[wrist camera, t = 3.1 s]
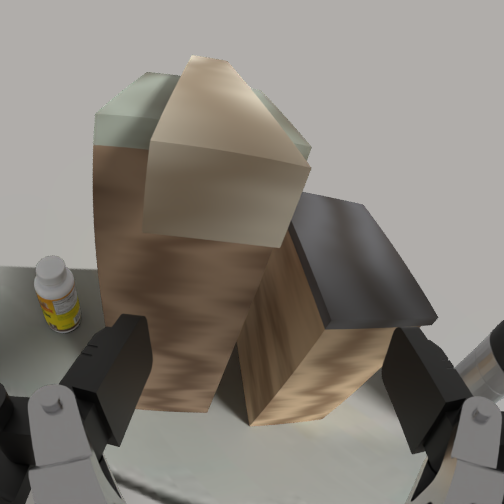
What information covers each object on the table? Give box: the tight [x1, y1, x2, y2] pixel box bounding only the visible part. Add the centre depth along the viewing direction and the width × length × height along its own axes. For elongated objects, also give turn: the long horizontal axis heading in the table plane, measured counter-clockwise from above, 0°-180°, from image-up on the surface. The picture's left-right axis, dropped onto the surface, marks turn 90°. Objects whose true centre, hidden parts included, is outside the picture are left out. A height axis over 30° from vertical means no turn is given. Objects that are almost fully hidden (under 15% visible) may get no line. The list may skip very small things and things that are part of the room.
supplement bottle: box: [34, 256, 81, 333], centre depth 34 cm, size 6×6×10 cm
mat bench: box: [237, 192, 438, 426], centre depth 34 cm, size 11×17×22 cm, turn 9°
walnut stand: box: [93, 72, 311, 413], centre depth 27 cm, size 10×14×32 cm
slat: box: [142, 55, 311, 248], centre depth 14 cm, size 3×22×2 cm, turn 9°
